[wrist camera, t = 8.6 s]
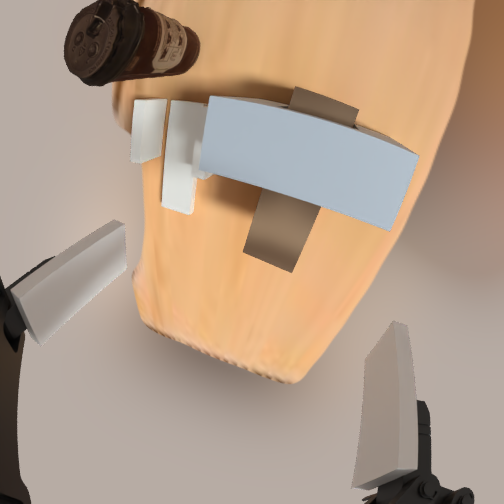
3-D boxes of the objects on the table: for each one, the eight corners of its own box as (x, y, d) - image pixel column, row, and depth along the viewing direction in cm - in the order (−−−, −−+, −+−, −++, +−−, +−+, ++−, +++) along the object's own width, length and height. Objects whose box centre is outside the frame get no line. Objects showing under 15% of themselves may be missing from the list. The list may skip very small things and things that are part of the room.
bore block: (262, 99, 24) (209, 95, 15) (389, 137, 22) (419, 156, 13) (252, 145, 27) (198, 169, 18) (374, 184, 25) (389, 231, 15)
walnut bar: (309, 93, 23) (295, 86, 16) (354, 110, 22) (359, 109, 16) (267, 217, 30) (242, 252, 24) (305, 233, 30) (291, 273, 23)
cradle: (157, 98, 27) (134, 99, 24) (232, 107, 25) (214, 108, 22) (149, 198, 34) (129, 209, 31) (213, 218, 32) (197, 233, 29)
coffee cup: (207, 7, 20) (125, -29, 9) (218, 72, 24) (133, 59, 13) (143, 34, 23) (55, 25, 12) (152, 93, 27) (61, 103, 16)
